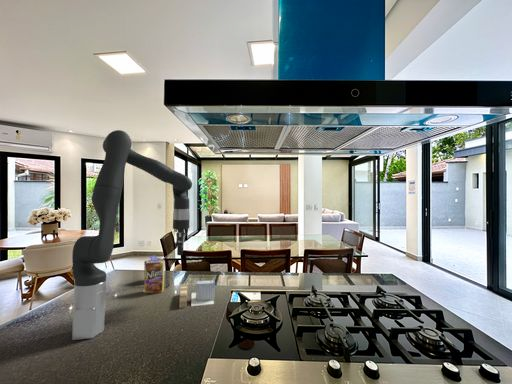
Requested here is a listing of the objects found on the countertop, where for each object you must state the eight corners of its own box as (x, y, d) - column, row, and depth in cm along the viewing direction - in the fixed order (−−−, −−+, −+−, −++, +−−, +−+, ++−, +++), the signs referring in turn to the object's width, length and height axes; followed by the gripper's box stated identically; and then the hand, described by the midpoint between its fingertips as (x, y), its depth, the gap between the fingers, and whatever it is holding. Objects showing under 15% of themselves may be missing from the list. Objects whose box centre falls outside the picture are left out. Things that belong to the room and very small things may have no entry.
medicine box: (196, 297, 116) (214, 296, 117) (195, 301, 111) (214, 300, 113) (196, 280, 116) (215, 280, 118) (196, 283, 112) (215, 283, 113)
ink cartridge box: (158, 278, 147) (159, 253, 148) (164, 279, 144) (164, 255, 145) (143, 282, 139) (144, 256, 140) (149, 284, 136) (150, 258, 137)
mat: (214, 304, 109) (214, 303, 109) (191, 306, 107) (191, 305, 107) (211, 292, 124) (211, 291, 125) (191, 293, 122) (191, 292, 122)
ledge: (186, 307, 106) (186, 295, 106) (179, 307, 105) (179, 296, 106) (187, 294, 121) (187, 283, 122) (181, 294, 121) (181, 284, 121)
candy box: (143, 293, 121) (144, 262, 122) (146, 290, 126) (147, 260, 126) (162, 293, 123) (163, 262, 123) (164, 290, 127) (165, 260, 128)
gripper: (189, 219, 109) (188, 256, 108) (189, 218, 123) (189, 250, 122) (171, 219, 107) (170, 256, 106) (174, 218, 121) (173, 251, 120)
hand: (180, 253), depth 114 cm, fingers open, 8 cm apart
